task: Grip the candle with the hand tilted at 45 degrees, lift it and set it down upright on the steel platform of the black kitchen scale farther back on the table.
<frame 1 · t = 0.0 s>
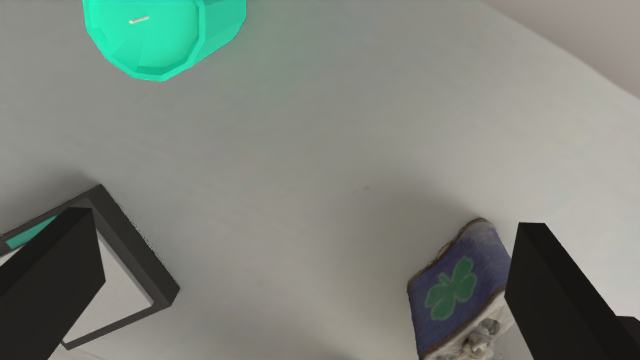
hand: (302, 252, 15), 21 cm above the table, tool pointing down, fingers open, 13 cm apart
scale: (90, 263, 42), on the table
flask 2: (449, 259, 40), on the table
candle: (203, 2, 33), on the table
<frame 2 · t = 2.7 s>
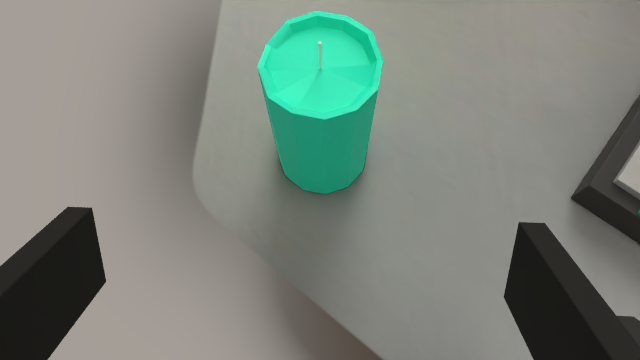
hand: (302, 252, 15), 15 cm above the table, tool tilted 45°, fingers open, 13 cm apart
candle: (322, 153, 33), on the table
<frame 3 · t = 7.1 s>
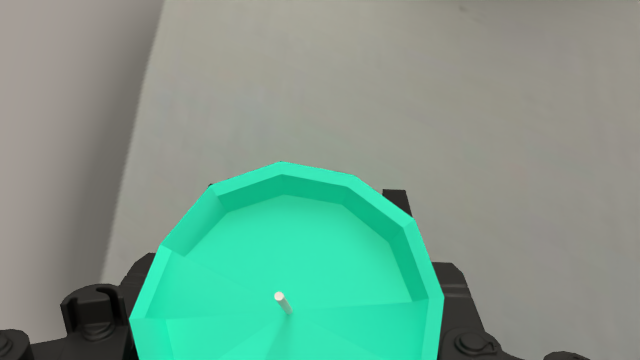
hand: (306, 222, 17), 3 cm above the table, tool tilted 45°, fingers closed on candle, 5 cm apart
candle: (310, 340, 19), on the table, touching gripper
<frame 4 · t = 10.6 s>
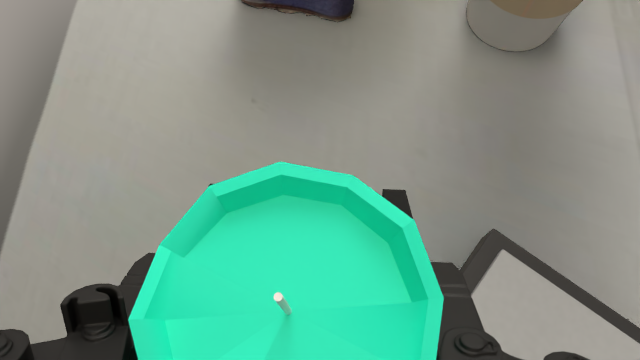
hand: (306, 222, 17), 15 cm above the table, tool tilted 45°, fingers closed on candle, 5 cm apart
coffee cup: (510, 16, 38), on the table
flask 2: (296, 3, 39), on the table
candle: (309, 341, 19), point 11 cm above the table, touching gripper
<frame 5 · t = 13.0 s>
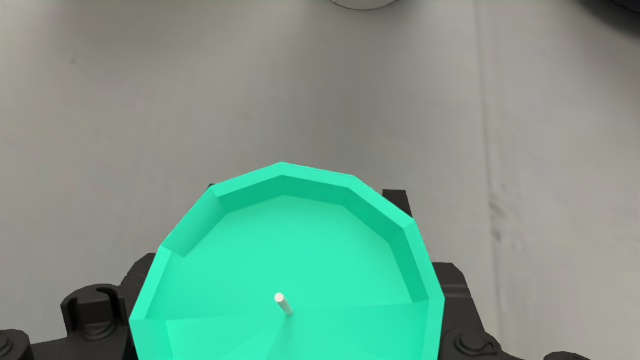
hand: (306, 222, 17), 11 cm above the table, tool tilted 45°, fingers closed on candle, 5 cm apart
candle: (310, 341, 19), point 7 cm above the table, touching gripper
when the fingers open (6 cm above the table, at t = 14.6 s): candle stays where it is, resting on scale.
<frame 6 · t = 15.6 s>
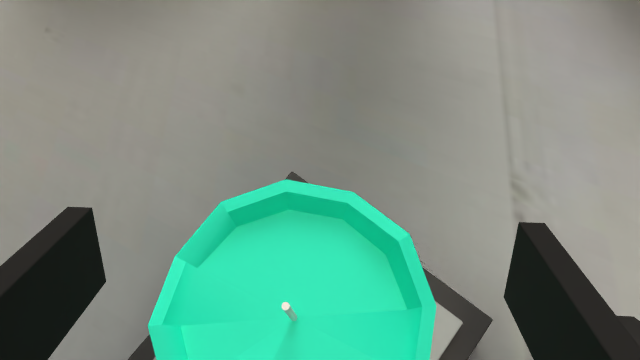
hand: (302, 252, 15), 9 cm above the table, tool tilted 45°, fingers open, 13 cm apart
scale: (311, 344, 23), on the table
candle: (312, 343, 20), point 3 cm above the table, touching scale
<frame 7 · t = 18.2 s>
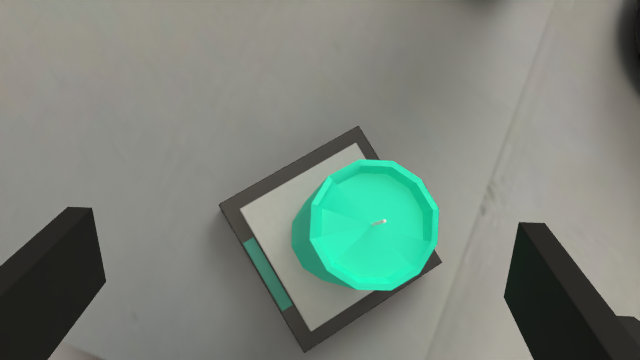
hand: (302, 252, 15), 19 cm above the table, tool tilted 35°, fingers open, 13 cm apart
scale: (327, 235, 35), on the table
candle: (335, 235, 32), point 3 cm above the table, touching scale
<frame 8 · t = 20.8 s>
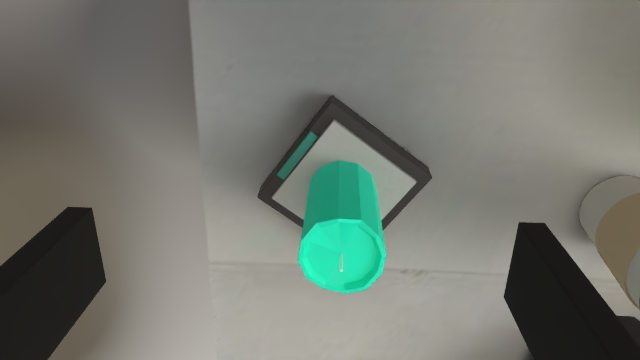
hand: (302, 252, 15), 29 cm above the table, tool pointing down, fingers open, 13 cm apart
scale: (343, 176, 45), on the table
coffee cup: (616, 208, 46), on the table
candle: (342, 191, 43), point 3 cm above the table, touching scale
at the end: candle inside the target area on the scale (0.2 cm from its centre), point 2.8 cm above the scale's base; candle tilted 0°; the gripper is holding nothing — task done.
